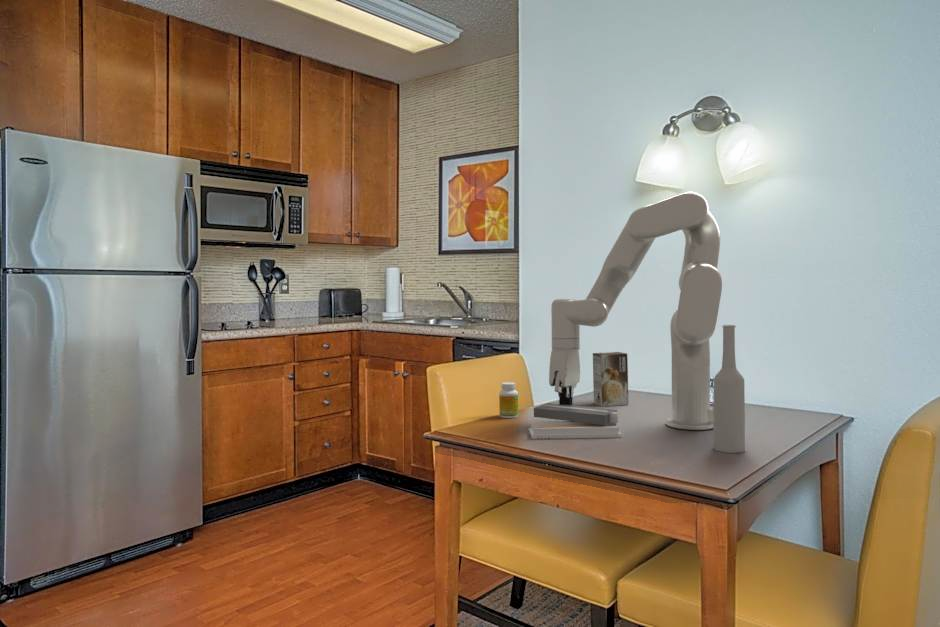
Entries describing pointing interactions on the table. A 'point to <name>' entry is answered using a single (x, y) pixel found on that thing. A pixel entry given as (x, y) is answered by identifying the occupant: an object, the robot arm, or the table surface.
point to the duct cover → (576, 413)
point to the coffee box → (610, 378)
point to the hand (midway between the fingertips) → (565, 411)
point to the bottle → (729, 400)
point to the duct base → (572, 430)
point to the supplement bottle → (508, 400)
